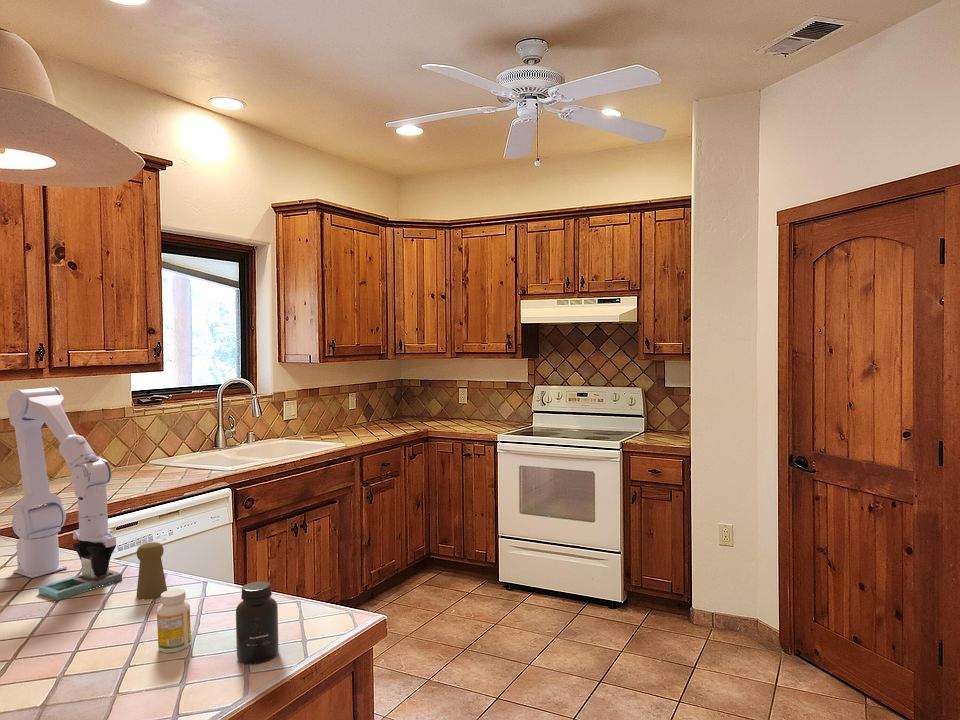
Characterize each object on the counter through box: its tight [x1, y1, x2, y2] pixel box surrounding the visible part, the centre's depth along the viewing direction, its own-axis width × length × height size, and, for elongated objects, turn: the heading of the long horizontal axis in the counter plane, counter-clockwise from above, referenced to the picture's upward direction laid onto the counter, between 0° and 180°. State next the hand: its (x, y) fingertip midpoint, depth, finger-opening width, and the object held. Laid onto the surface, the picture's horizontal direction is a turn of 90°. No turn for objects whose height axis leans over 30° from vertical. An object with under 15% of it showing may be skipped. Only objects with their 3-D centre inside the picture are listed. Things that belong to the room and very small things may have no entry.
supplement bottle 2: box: [235, 581, 279, 665], centre depth 117 cm, size 7×7×12 cm
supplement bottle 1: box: [156, 588, 192, 654], centre depth 121 cm, size 5×5×10 cm
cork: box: [136, 541, 168, 601], centre depth 147 cm, size 6×6×11 cm
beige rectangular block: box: [80, 555, 110, 581], centre depth 156 cm, size 4×4×6 cm
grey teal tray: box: [38, 569, 123, 601], centre depth 154 cm, size 8×14×2 cm, turn 147°
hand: (95, 573), depth 156 cm, fingers closed on beige rectangular block, 4 cm apart
